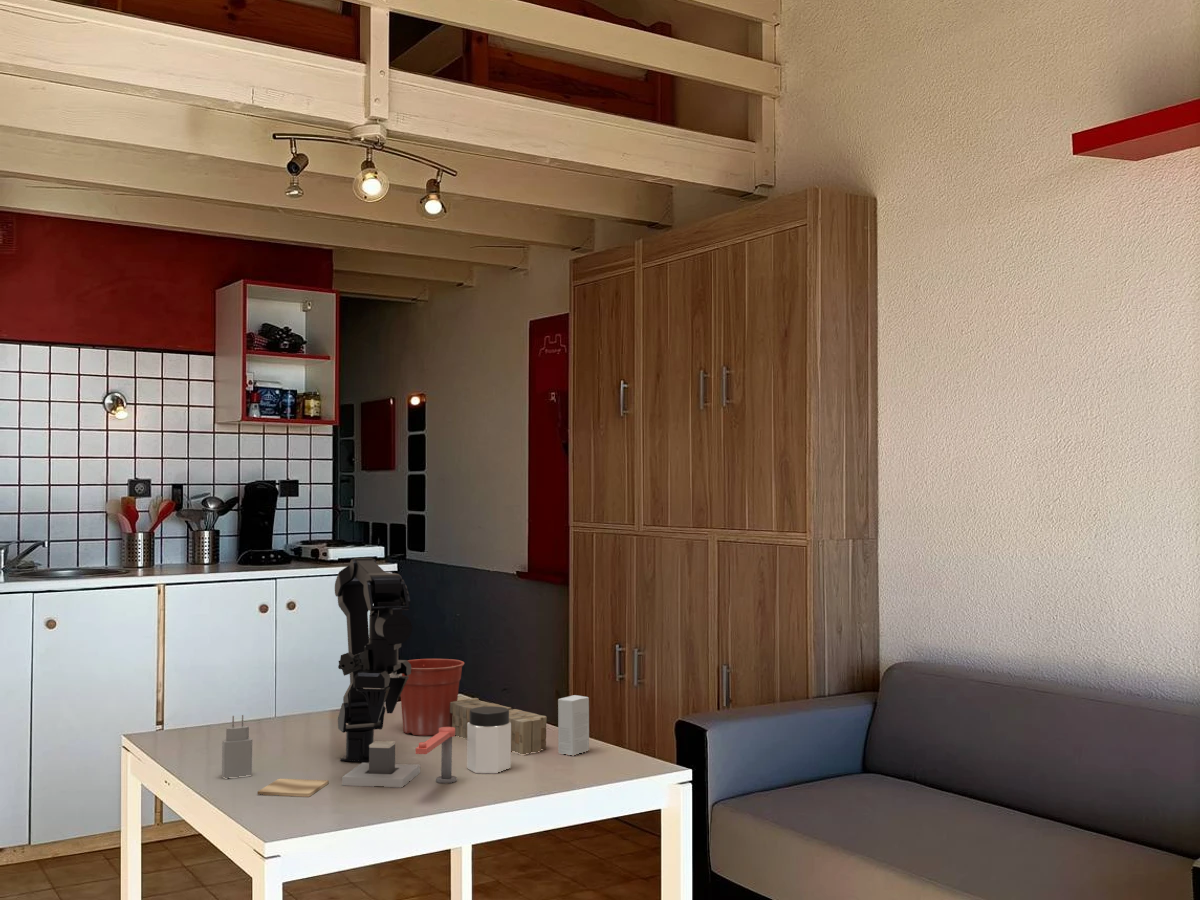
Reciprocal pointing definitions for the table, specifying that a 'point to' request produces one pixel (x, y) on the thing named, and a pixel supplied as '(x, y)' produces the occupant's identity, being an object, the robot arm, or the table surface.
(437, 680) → the flower pot
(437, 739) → the pink lever
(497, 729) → the jar
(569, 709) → the skincare box
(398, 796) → the table surface
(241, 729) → the power adapter
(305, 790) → the wooden pad
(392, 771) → the plug
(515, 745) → the block tower
